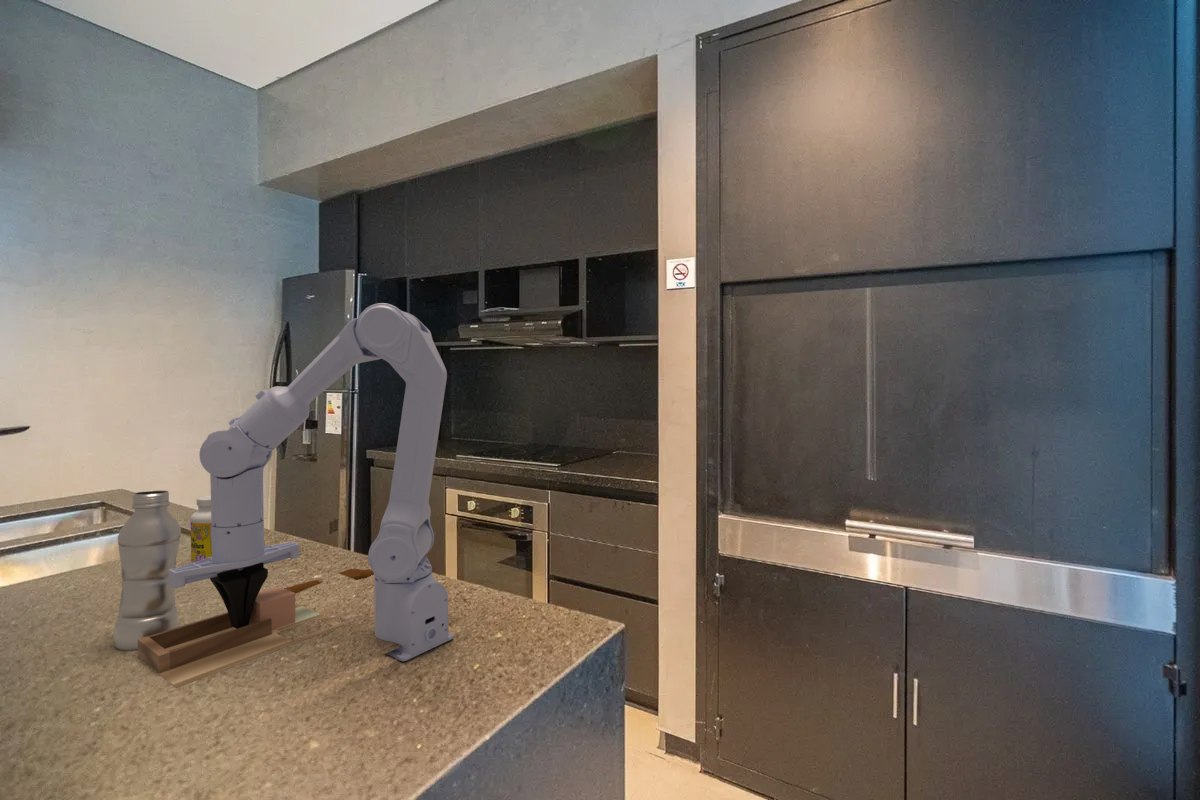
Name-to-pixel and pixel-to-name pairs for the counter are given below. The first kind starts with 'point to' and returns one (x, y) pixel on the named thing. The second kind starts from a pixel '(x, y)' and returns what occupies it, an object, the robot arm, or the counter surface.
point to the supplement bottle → (201, 530)
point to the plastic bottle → (147, 570)
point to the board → (217, 645)
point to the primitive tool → (350, 573)
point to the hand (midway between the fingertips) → (239, 625)
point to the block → (274, 607)
